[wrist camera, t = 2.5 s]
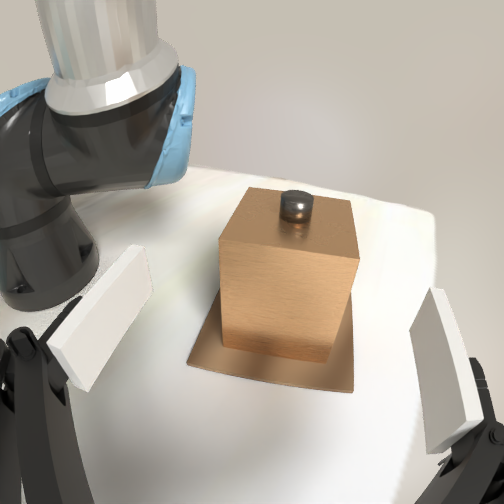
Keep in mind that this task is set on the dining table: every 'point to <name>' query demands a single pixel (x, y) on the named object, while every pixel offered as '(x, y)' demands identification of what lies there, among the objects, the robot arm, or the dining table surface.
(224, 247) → the wooden cube with knob
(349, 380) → the board
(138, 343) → the dining table surface
